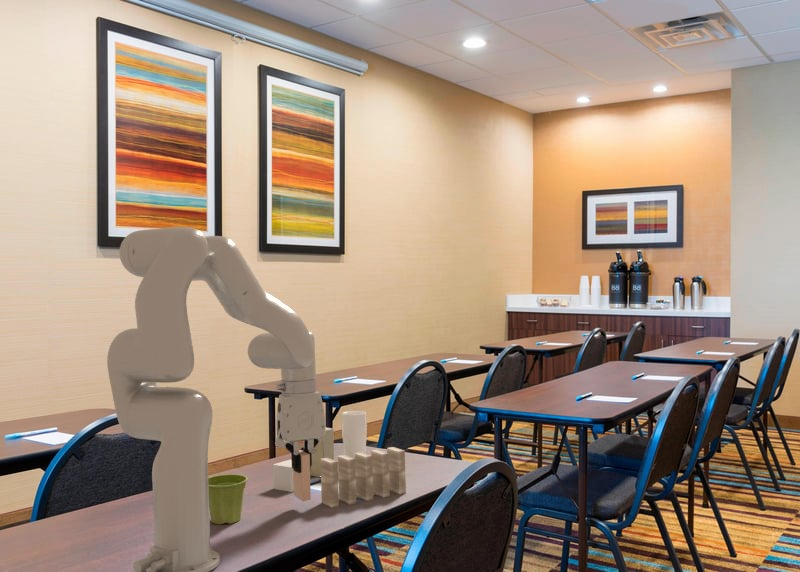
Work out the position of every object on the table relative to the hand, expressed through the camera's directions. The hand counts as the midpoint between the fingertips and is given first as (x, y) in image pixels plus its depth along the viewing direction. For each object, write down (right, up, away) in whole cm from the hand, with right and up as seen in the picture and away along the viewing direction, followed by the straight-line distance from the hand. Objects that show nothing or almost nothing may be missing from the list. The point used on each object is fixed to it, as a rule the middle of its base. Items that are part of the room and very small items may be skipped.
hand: (302, 470), depth 167 cm
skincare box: (+1, -9, +31) cm, 32 cm away
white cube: (-5, -9, +19) cm, 22 cm away
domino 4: (+13, -8, +8) cm, 18 cm away
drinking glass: (+10, -9, +36) cm, 38 cm away
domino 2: (+6, -9, +3) cm, 11 cm away
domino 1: (0, -6, 0) cm, 6 cm away
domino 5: (+17, -8, +10) cm, 22 cm away
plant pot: (-15, -9, -6) cm, 19 cm away
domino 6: (+21, -8, +13) cm, 26 cm away
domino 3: (+10, -8, +6) cm, 14 cm away
